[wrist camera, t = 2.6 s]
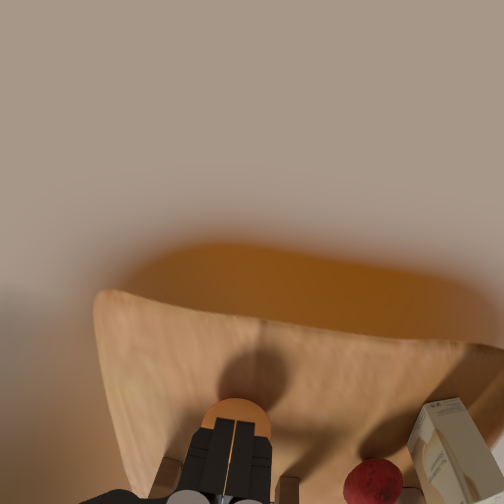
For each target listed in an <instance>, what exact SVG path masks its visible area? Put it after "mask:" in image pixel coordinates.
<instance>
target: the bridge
mask: <svg viewBox="0 0 504 504" xmlns="http://www.w3.org/2000/svg"><path fill="white" fill-rule="evenodd" d="M181 473H182V467H181V461H177V460H172V459H168V458H164V457H163V459H162V462H161V464H160V467H159V469H158V472H157V475H156V477H155V480H154V483H153V485H152V488H151V491H150V493H149V496H148V498H147V499H157V498H163V497H166V496H168V495H170V494H171V493H173V492H174V491H175V489H176V488H177V486H178V483H179V479H180V476H181ZM274 504H299V478H293V477H280V478H279V481H278V483H277V486H276V489H275V503H274Z"/></svg>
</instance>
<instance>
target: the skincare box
mask: <svg viewBox="0 0 504 504" xmlns="http://www.w3.org/2000/svg"><path fill="white" fill-rule="evenodd" d="M407 446H408V449H409V452H410V455H411V458H412V460H413V463H414V466H415V469H416V472H417V475H418V478H419V481H420V484H421V487H422V490H423V493H424V496H425V499H426V502H427V504H495V503H496V501H497V500H498V499H499V498H500V497H501V496H502V495H503V494H504V477H503V474H502V473H501V471H500V469H499V467H498V465H497V463H496V461H495V459H494V457H493V455H492V454H491V452H490V450H489V448H488V446H487V444H486V443H485V441H484V439H483V437H482V435H481V434H480V432H479V430H478V428H477V427H476V425H475V423H474V421H473V420H472V418H471V416H470V415H469V413H468V411H467V410H466V408H465V406H464V405H463V403H462V401H461V400H460V398H459V397H458V398H453V399H447V400H442V401H436V402H431V403H426V404H424V405H423V407H422V409H421V412H420V414H419V416H418V418H417V421H416V423H415V425H414V428H413V430H412V432H411V435H410V437H409V440H408V442H407Z"/></svg>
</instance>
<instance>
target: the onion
mask: <svg viewBox="0 0 504 504" xmlns="http://www.w3.org/2000/svg"><path fill="white" fill-rule="evenodd" d="M402 488H403V480H402V474H401V472H400V470H399V468H398V467H397V466H395V465H394V464H393V463H392V462H390V461H389V460H385V459H378V458H374V459H366V460H364V461H363V462H362V463H360V464H359V465H358V466H356V467H355V468H354V469H353V470H352V471H351V472H350V473H349V474H348V476H347V478H346V480H345V483H344V489H343V494H344V498H345V500H346V502H347V503H348V504H395V503H396V501H397V499H398V498H399V497H400V495H401V492H402Z"/></svg>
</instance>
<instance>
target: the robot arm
mask: <svg viewBox="0 0 504 504" xmlns="http://www.w3.org/2000/svg"><path fill="white" fill-rule="evenodd" d="M234 425H235V420H233V419H227V418H221V417H217V418H216V421H215V426H214V429H209V428H204V427H201V428H200V429H199V430H198V431H197V432H196V433H195V434H194V435H193V436H192V440H191V443H190V447H189V450H188V453H187V456H186V459H185V463H184V466H183V469H182V473H181V476H180V479H179V483H178V486H177V488H176V489H175V491H174V492H173V493H171V494H170V495H168V496H166V497H163V498H157V499H143V498H139V497H138V496H137V495H135V494H134V493H132V492H130V491H127V490H122V489H116V490H112V491H109V492H107V493H104V494H102V495H99V496H97V497H95V498H92V499H90V500H87V501H84V502H82V503H79V504H221V503H222V497H223V492H224V486H225V480H226V475H227V469H228V463H229V457H230V452H231V445H232V439H233V432H234ZM254 434H255V422H247V421H240V420H237V423H236V429H235V435H234V441H233V447H232V453H231V458H230V464H229V470H228V476H227V482H226V488H225V493H224V500H223V504H270V486H271V465H272V446H271V444H270V442H269V440H268V437H263V436H255V435H254ZM395 504H427V502H426V499H425V496H424V495H422V493H421V491H420V490H419V489H416V488H403V489H402V492H401V495H400V497H399V498H398V499H397V501H396V503H395Z"/></svg>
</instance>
